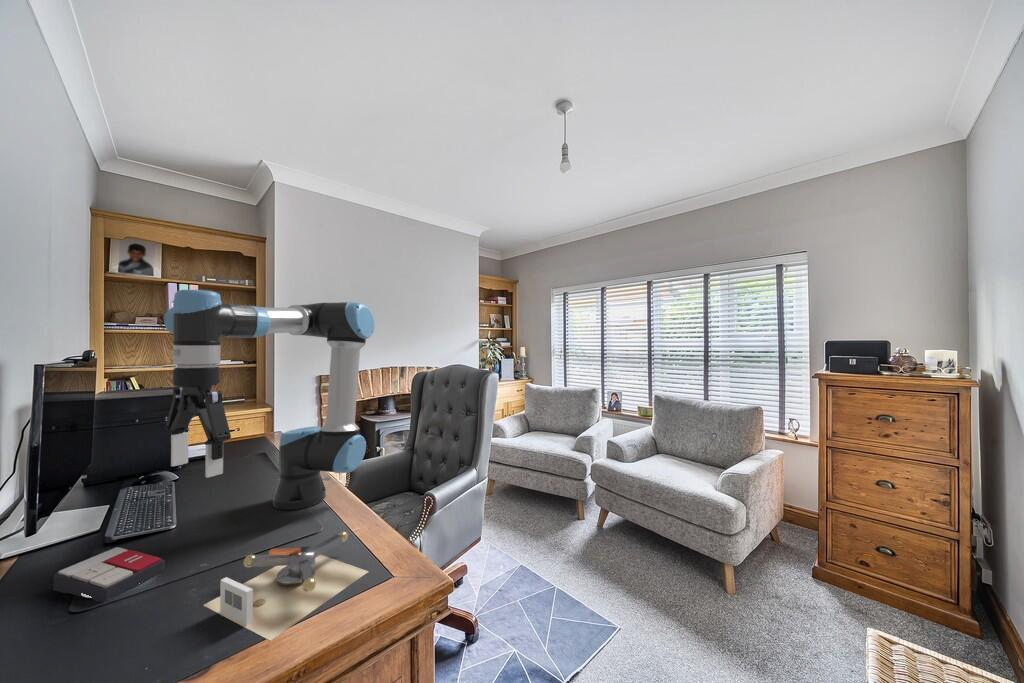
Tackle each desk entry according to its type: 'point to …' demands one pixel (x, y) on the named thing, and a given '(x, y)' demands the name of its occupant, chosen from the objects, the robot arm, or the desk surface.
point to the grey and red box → (108, 574)
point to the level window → (236, 601)
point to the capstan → (296, 562)
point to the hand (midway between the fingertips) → (196, 469)
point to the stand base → (292, 596)
